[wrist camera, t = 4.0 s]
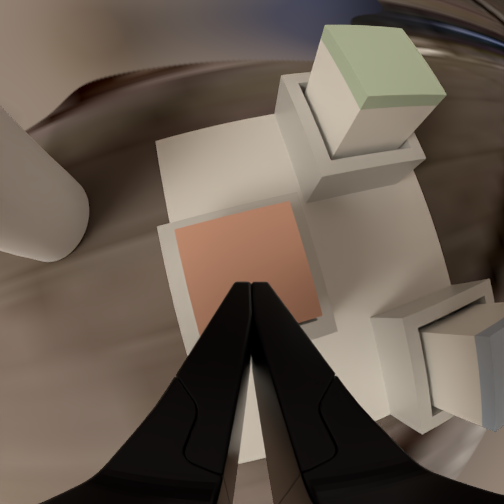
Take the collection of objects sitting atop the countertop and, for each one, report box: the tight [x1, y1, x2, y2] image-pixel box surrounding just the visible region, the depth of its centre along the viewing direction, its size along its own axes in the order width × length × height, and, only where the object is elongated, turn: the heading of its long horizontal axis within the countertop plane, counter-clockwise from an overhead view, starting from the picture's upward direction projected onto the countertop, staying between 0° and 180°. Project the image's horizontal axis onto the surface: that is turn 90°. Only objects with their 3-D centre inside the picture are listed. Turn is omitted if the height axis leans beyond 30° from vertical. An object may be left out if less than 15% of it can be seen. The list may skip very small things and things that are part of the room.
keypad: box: [155, 72, 495, 464], centre depth 17 cm, size 22×18×4 cm
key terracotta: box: [174, 201, 323, 336], centre depth 15 cm, size 5×5×6 cm
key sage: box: [304, 25, 447, 160], centre depth 14 cm, size 5×5×6 cm
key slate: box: [418, 302, 504, 432], centre depth 12 cm, size 5×5×6 cm
